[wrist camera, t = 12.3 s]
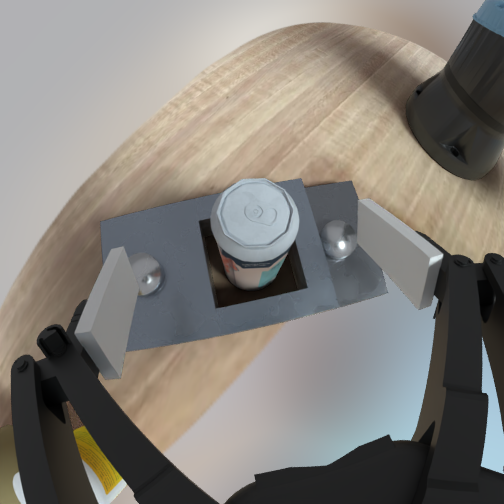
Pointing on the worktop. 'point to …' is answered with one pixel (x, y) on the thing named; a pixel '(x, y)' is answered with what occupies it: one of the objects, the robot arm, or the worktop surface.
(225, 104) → the worktop surface
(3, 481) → the squeeze bottle
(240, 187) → the beer can
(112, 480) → the supplement bottle
